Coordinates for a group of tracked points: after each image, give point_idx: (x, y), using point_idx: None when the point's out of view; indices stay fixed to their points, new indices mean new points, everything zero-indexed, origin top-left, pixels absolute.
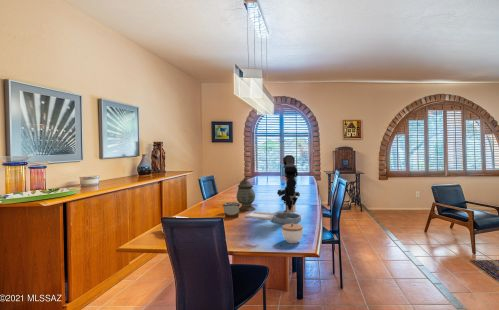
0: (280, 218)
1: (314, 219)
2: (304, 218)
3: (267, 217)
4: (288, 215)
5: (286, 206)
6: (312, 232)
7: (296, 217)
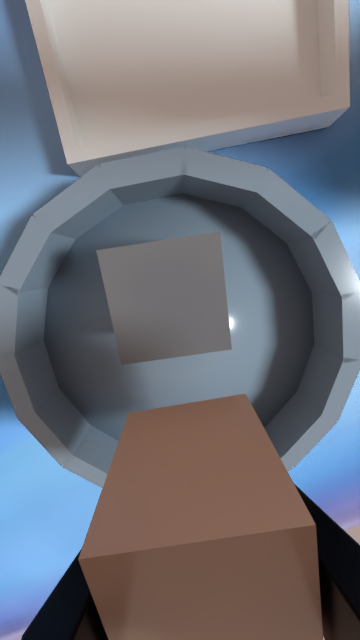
0: (14, 364)
1: (338, 509)
2: (337, 433)
3: (58, 99)
4: (317, 289)
5: (93, 516)
6: (2, 625)
7: (302, 385)
